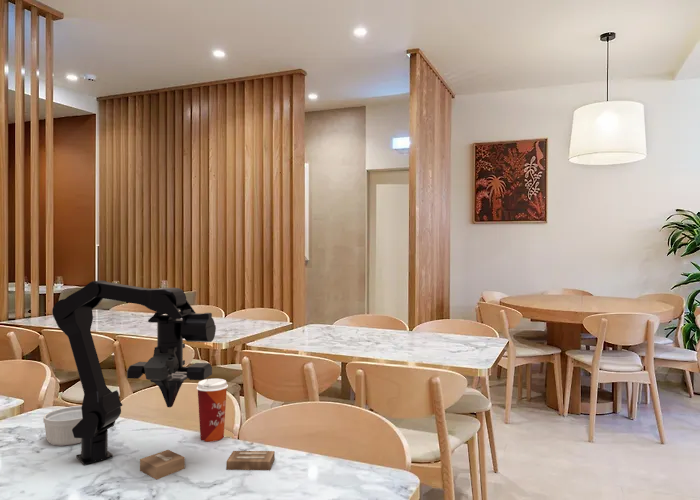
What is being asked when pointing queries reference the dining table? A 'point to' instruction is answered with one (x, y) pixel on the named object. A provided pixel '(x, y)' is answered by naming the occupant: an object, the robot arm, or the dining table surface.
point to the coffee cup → (212, 408)
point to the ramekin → (62, 425)
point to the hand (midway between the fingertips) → (169, 406)
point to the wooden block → (250, 460)
